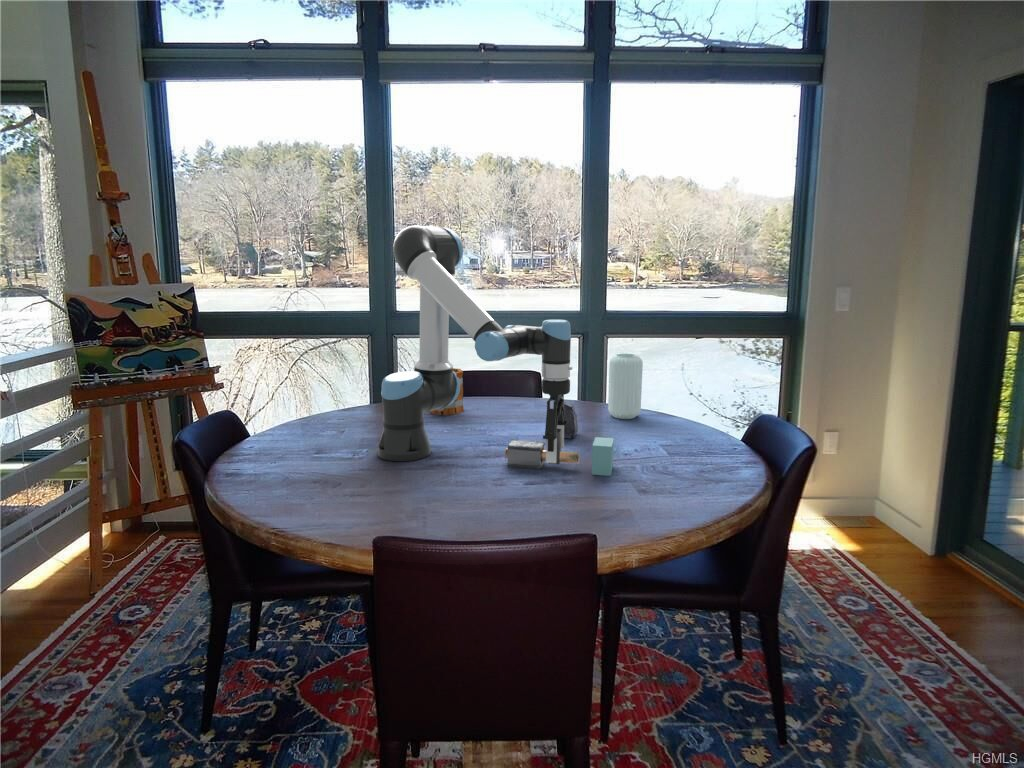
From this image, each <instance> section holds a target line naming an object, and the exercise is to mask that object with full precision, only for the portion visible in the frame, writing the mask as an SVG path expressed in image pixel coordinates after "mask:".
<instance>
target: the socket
mask: <svg viewBox="0 0 1024 768" xmlns="http://www.w3.org/2000/svg"><path fill="white" fill-rule="evenodd" d="M614 439H615V438H613V437H602V436H601V437H599V436H595V437H594V441H593V442H592V445H591V446H592V449H591V450H592V452H591V453H592V455H591V475H593V476H594V475H595V476H596V475H597V476H607V477H611V475H612V474H613V473H612V472H613V469H614V468H613V467H614V448H615V447H614V444H615V443H614V442H615V440H614Z"/></svg>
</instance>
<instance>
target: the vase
mask: <svg viewBox="0 0 1024 768" xmlns="http://www.w3.org/2000/svg"><path fill="white" fill-rule="evenodd" d="M643 365H644V363H643V360H642V358H641V357H640V356H638V354H635V353H627V352H626V353H625V352H624V353H623V352H622V353H617V354H616V353H615V355H613V356H612V357H611V358H610V360H609V366H608V367H609V369H608V371H609V372H608V373H609V374H608V395H607V396H608V399H607V401H608V402H607V409H608V412H609V414H610V415H611V416H612V417H614V418H615V419H619V420H631V419H635V418H636V417H637V416H638V415H639V414H640V413H641V410H642V409H641V408H642V392H643V391H642V389H643V388H642V387H643V367H644V366H643Z"/></svg>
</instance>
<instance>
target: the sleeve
mask: <svg viewBox="0 0 1024 768" xmlns="http://www.w3.org/2000/svg"><path fill="white" fill-rule="evenodd" d="M507 448H508V459H507V468H516V469H517V468H519V469H529V470H530V469H531V470H532V469H533V470H541V469H542V467H543V465H544V463H545V461H541V450H545V441H537V440H536V441H535V440H520V439H512V440H511V441H510V443H509V444H508V445H507Z"/></svg>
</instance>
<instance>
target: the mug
mask: <svg viewBox="0 0 1024 768" xmlns="http://www.w3.org/2000/svg"><path fill="white" fill-rule="evenodd" d="M453 371H454V372H455V373H456V375H457V377H458V378H459V381H460V391H459V395H458V397H457V399H456V400H455V401H454V402H453V403H452V404H450V405H448V406H446V407H444V408H442V409H437V410H433V411H430V412H429V414H432V415H439V416H448V415H449V416H451V415H458V414H461V413H463V412H464V411H465V410H464V409H465V408H464V382H463V379H464V378H463V376H464V371H463V370H462V369H461V368H454V367H453Z"/></svg>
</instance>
